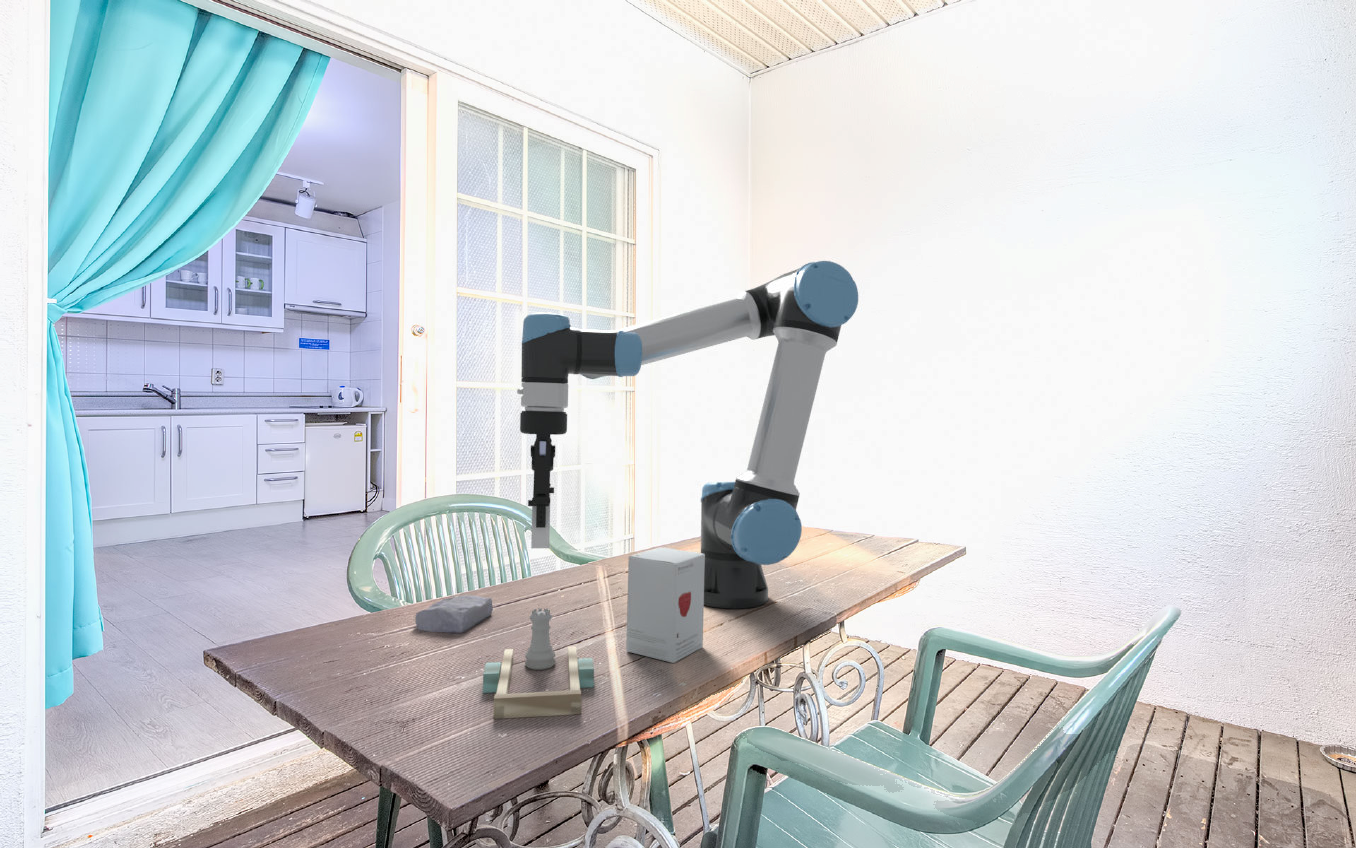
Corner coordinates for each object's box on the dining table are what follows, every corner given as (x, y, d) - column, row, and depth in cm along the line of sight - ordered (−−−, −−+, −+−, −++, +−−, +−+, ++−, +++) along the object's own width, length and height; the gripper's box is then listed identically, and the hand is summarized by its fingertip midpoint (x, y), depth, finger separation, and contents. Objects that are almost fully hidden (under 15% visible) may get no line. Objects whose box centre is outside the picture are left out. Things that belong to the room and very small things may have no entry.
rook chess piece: (526, 659, 105) (527, 606, 105) (557, 659, 105) (557, 606, 105) (522, 671, 100) (523, 615, 100) (554, 670, 101) (555, 615, 101)
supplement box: (674, 665, 104) (675, 563, 103) (624, 652, 109) (626, 555, 108) (705, 647, 112) (706, 552, 111) (657, 636, 116) (659, 545, 116)
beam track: (490, 659, 105) (491, 643, 104) (589, 655, 107) (589, 639, 107) (476, 720, 85) (476, 699, 85) (597, 713, 87) (597, 693, 87)
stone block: (410, 641, 118) (465, 634, 116) (406, 613, 118) (460, 605, 116) (448, 622, 129) (498, 615, 127) (444, 596, 129) (494, 589, 127)
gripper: (523, 408, 127) (520, 526, 128) (516, 410, 103) (513, 556, 103) (566, 409, 128) (563, 526, 129) (569, 411, 104) (565, 555, 104)
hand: (540, 539), depth 116 cm, fingers open, 13 cm apart
